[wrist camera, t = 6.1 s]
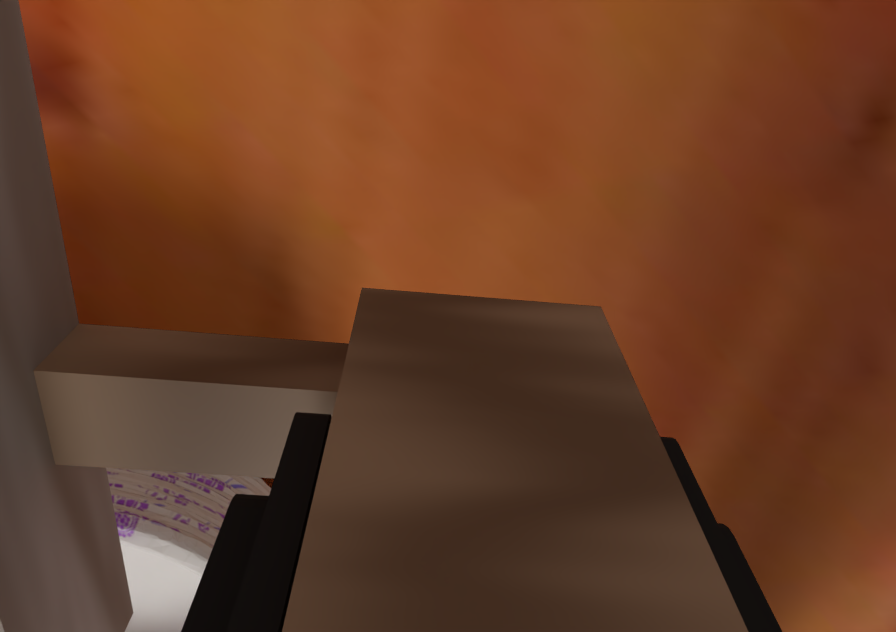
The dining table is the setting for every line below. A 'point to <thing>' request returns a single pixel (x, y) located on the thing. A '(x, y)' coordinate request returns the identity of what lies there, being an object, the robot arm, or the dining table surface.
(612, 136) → the dining table surface
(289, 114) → the dining table surface
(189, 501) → the paper bowls
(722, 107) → the dining table surface
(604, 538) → the scraper
